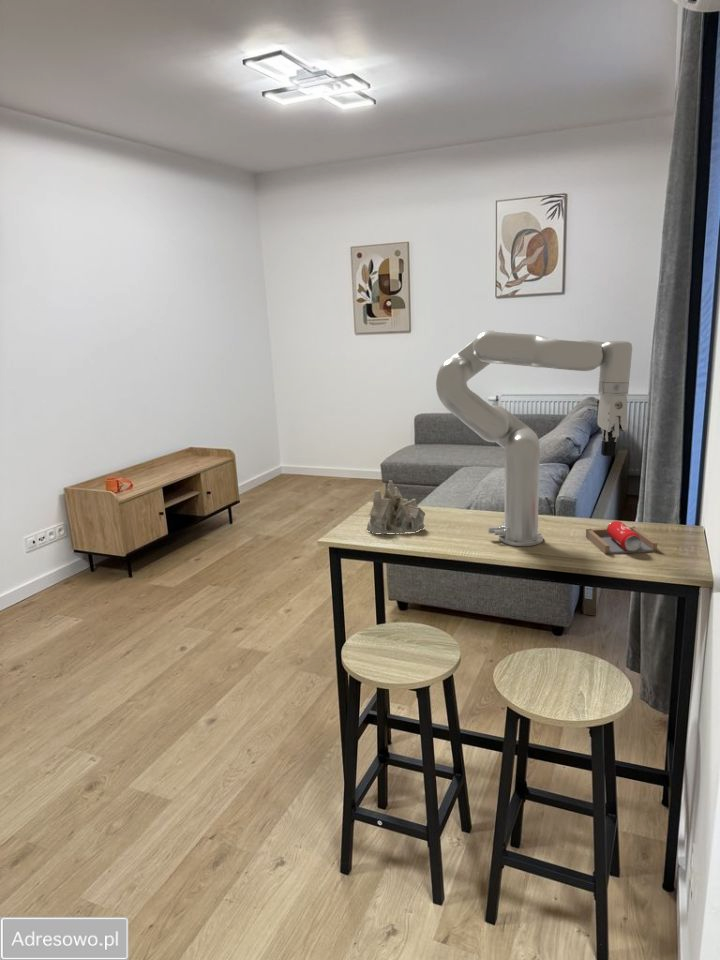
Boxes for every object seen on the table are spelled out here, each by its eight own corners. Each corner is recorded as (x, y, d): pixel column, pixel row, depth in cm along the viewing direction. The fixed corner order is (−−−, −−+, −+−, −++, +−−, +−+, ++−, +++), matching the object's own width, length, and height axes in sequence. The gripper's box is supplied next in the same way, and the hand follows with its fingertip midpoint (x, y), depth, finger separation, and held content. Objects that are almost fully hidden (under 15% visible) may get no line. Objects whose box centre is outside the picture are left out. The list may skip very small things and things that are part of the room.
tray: (604, 554, 176) (605, 545, 175) (585, 537, 189) (586, 529, 189) (656, 551, 176) (657, 543, 175) (633, 534, 189) (634, 526, 189)
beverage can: (641, 552, 175) (623, 536, 186) (643, 534, 173) (624, 519, 185) (622, 553, 175) (605, 537, 186) (624, 534, 173) (606, 520, 185)
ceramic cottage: (359, 528, 205) (360, 483, 201) (398, 519, 215) (399, 475, 211) (392, 543, 194) (394, 495, 190) (431, 532, 204) (433, 487, 200)
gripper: (638, 391, 166) (631, 461, 170) (617, 384, 180) (612, 449, 185) (608, 392, 166) (603, 461, 171) (590, 385, 180) (585, 449, 185)
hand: (607, 455), depth 178 cm, fingers closed
